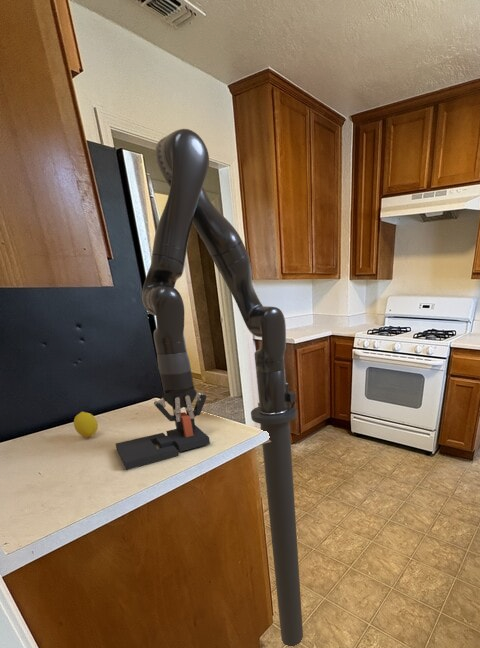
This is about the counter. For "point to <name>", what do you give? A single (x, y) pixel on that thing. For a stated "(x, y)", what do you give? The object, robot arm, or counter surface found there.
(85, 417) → the lemon
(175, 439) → the pad
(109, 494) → the counter surface
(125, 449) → the base pad
